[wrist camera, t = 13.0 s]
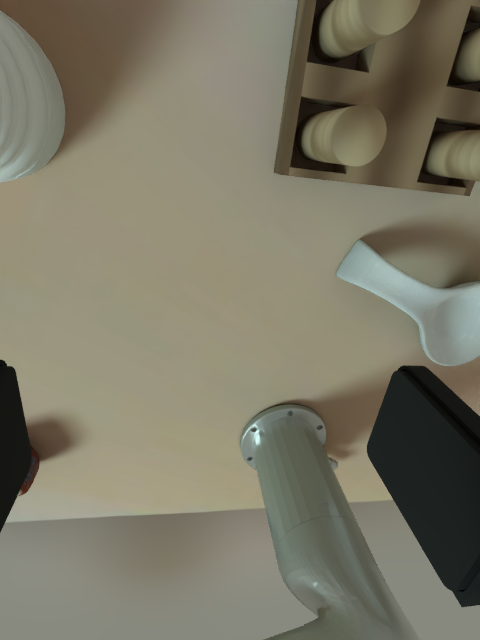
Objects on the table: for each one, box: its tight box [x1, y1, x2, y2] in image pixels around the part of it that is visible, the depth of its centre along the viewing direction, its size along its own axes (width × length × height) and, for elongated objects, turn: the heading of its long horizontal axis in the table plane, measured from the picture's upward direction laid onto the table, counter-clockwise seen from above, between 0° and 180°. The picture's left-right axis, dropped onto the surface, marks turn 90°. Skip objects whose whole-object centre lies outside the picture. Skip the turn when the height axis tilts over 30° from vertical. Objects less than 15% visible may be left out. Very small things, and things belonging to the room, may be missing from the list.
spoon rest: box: [336, 240, 480, 366], centre depth 41 cm, size 24×12×7 cm, turn 62°
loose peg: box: [295, 104, 387, 166], centre depth 30 cm, size 4×4×10 cm
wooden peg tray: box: [274, 0, 480, 196], centre depth 29 cm, size 20×15×10 cm
